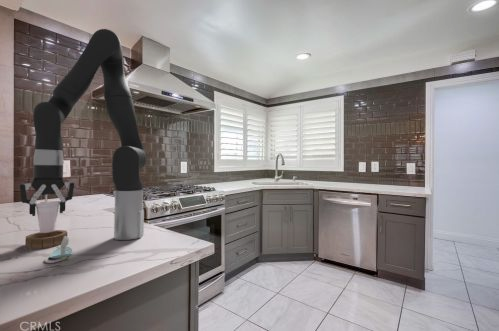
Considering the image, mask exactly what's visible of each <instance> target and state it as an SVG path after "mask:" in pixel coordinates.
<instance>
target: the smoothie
mask: <svg viewBox="0 0 499 331" xmlns="http://www.w3.org/2000/svg"><path fill="white" fill-rule="evenodd" d="M48 195H49V194H46V195H44V201H38V202H35V204H36V206H35V209H36V214H37V220H38V227H39V232H40V233H48V232H53V231H55V230H56V225H57V218H58V214H59V213H58V211H59V209H60V202H61V200H48Z"/></svg>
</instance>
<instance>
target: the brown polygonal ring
mask: <svg viewBox="0 0 499 331" xmlns="http://www.w3.org/2000/svg"><path fill="white" fill-rule="evenodd" d="M64 236H67V237H68V231H67V230H64V229H62V230H61V229H58V230H56V229H55V231H53V232H48V233H40V231H38V232H35V233H31V234H28V235H26V236H25V239H24V240H25V241H24V243H25V246H24V247H25V249H29V250H42V249H47V248H54V247H57V246H61V243H62V240H63V238H64Z"/></svg>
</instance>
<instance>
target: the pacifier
mask: <svg viewBox="0 0 499 331" xmlns="http://www.w3.org/2000/svg"><path fill="white" fill-rule="evenodd" d="M69 241H70V240H69V237H68V235H67V236H64V238H63V240H62V243H61V245H60V247H59V248H56V249H55V250H54V251H52V252H51V253H50V254H49V256H46V257H45V258H44V260H43V261H44V262H45V263H46V264H55V263H58V262H60V261H65V260H66V259H68V257H71V256H72V255H73V253H72V252H73V249H72V248H71V247H70V246H68V245H69Z"/></svg>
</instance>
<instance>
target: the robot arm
mask: <svg viewBox="0 0 499 331" xmlns="http://www.w3.org/2000/svg"><path fill="white" fill-rule="evenodd" d="M123 53H124V52H123V48H122V42H121V40H120V37H119V36H118V35H117V34H116V33H115V32H114V31H112V30H111V29H107V28H101V29H98V30H96V31H94V33H93V34H92V36H91V37H90V39H89V41H88V43H87V44H86V46H85V48H84V50H83V51H82V53H81V55H80V56H79V58H78V59H77V61H76V62H75V64H74V65H73V67H71V68H70V70H69V71H68V73H66V75H65V76H64V77H63V79H62V80H61V81H60V82H59V83H58V84H57V85H56V86H55V88H54V89H53V91H52V96H51V97H50V98H49V100H48V101H43V102H40V103H37V104H36V105H35V107H34V108H33V115H32V116H33V125H34V132H35V138H34V139H35V140H34V153H33V160H32V161H33V172H32V173H33V174H32V176H33V177H32V178H33V179H32V181H31V182H29V183H20V184H19V191H20V197H21V198H20V199H21V203H23V204H28V205H29V209H28V210H29V214H30V215H31V216H32V217H36V204H35V203H37V202H36V201H37V200H38V199H39V198H40V196H45V195H46V194H48V195H56V196H57V197H58V199H59V201H60V205H59V214H63V212H65V211H66V202H67V201H71V200H73V193H74V189H75V183H74V182H73V181H72V182H71V181H70V182H67V181H65V180H64V154H63V150H64V149H63V146H64V145H63V144H64V142H63V141H64V139H63V135H62V124H63V122H65V121H66V120H67V118H68V116H69V114H70V113H71V111H72V110H73V108H74V106H75V105H76V104H77V103H78V102H79V100H80V99H81V98H82V97H83V96H84V95H85V93H86V92H87V91H88V89H89V88H90V86H91V84H92V81H93V80H94V78H95V75H96V74H97V72H98V70H99V68H101V71H102V76H103V97H104V103H105V108H106V112H107V115H108V117H109V119H110V121H111V123H112V125H113V127H114V129H115V130H116V132H117V134H118V136H119V140H120V145H121V146H119V147H118V148H116V149H115V151H114V152H113V155H112V160H111V162H112V163H111V170H112V171H111V172H112V182H113V185H114V218H113V219H114V222H113V224H114V227H113V228H114V229H113V239H114V240H115V241H116V240H117V241H131V240H136V239H141V238H142V236H143V235H144V234H145V233H144V232H145V231H144V228H145V227H144V225H145V219H144V218H145V217H144V216H145V209H144V201H143V200H144V199H143V198H144V183H143V181H142V180H141V178H140V171H141V170H142V169H144V167H145V165H146V163H147V154H146V151H145V148H144V145H143V143H142V139H141V136H140V132H139V126H138V125H139V124H138V122H137V120H138V119H137V116H136V111H135V110H136V109H135V105H134V100H133V95H132V91H131V89H130V86H129V84H128V81H127V78H126V75H125V69H124V56H123V55H124V54H123ZM64 186H65V188H66V189H67V195H66V196H65V197H64V195H63V194H62V192H61V189H62V188H63V187H64ZM30 187H32V188H33V190H35V191H36V192H34V194H33V196H32V197H31V199H29V198H28V197H27V191H29V189H30Z"/></svg>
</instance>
